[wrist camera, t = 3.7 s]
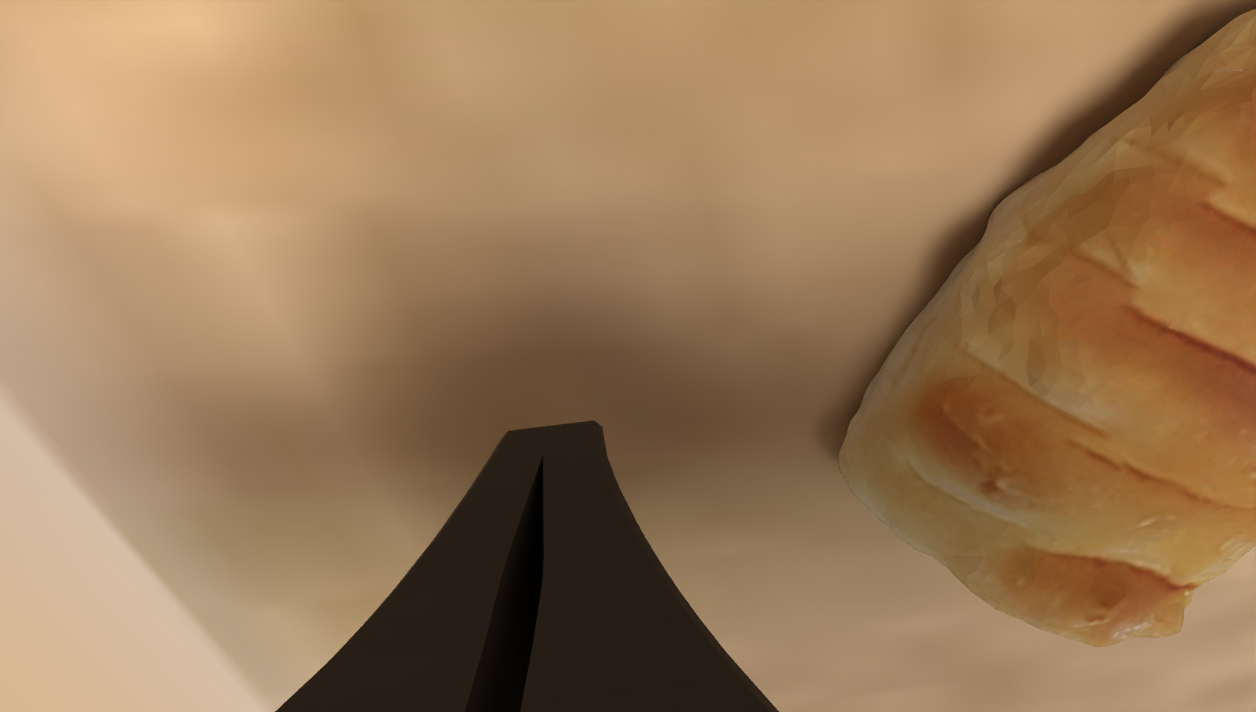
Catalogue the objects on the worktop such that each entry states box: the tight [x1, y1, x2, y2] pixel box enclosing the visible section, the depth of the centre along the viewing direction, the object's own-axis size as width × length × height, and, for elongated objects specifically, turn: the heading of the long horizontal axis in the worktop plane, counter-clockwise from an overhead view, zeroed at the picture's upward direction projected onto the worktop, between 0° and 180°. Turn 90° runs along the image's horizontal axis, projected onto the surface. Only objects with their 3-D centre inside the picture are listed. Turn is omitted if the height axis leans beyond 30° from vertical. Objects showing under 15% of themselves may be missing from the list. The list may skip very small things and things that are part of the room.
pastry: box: [839, 9, 1256, 647], centre depth 10 cm, size 9×7×4 cm
